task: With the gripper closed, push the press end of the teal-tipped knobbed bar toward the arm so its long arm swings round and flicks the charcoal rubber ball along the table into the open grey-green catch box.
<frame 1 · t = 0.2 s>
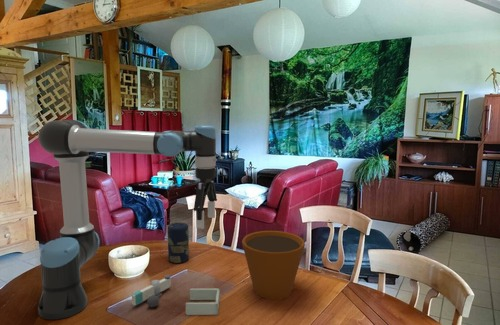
hand: (206, 222, 135), 27 cm above the table, fingers open, 13 cm apart
catch box: (203, 306, 126), on the table
pivot base: (155, 295, 133), on the table
ball: (153, 306, 125), on the table
canister: (178, 260, 165), on the table
teal-tipped knobbed bar: (152, 289, 131), point 3 cm above the table, hinge at 0.0°
flower pot: (272, 290, 138), on the table
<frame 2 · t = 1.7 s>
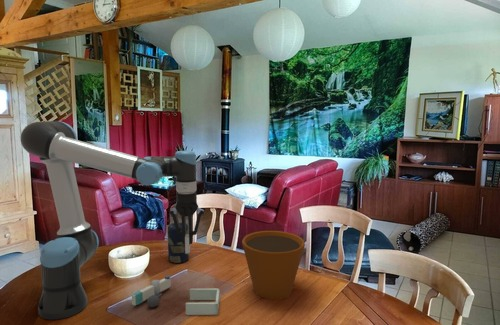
hand: (187, 251, 137), 15 cm above the table, fingers closed
nothing on the table moved.
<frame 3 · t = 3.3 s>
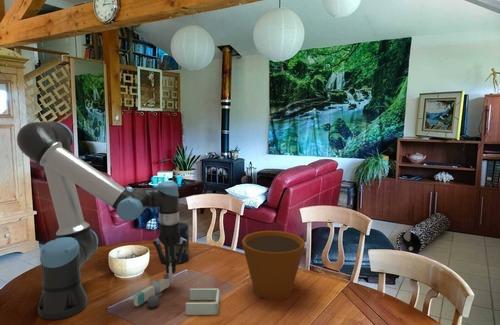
hand: (171, 280, 139), 3 cm above the table, fingers closed
teal-tipped knobbed bar: (152, 289, 131), point 3 cm above the table, hinge at 6.1°, touching gripper
everything else where it was.
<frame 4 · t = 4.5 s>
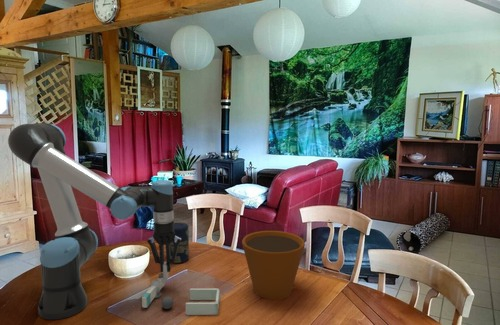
hand: (166, 279, 139), 3 cm above the table, fingers closed
ball: (164, 297, 124), point 4 cm above the table, tilted 154°
teal-tipped knobbed bar: (153, 289, 131), point 3 cm above the table, hinge at 26.3°, touching gripper
everything else where it was.
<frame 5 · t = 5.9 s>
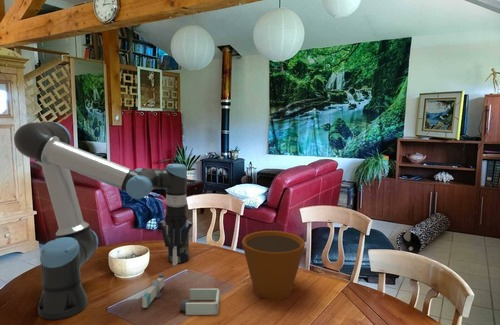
hand: (175, 263, 138), 10 cm above the table, fingers closed
ball: (187, 310, 123), on the table, tilted 17°
teal-tipped knobbed bar: (153, 289, 131), point 3 cm above the table, hinge at 26.4°
everything else where it was.
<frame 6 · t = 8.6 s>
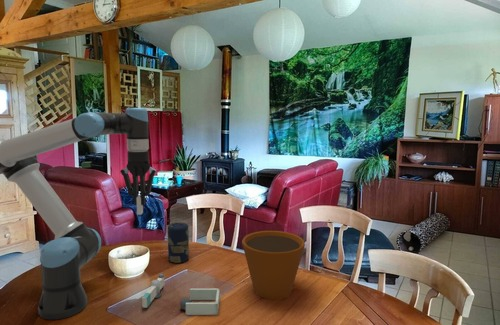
hand: (140, 213, 132), 30 cm above the table, fingers closed
ball: (187, 309, 123), on the table, tilted 37°
everything else where it was.
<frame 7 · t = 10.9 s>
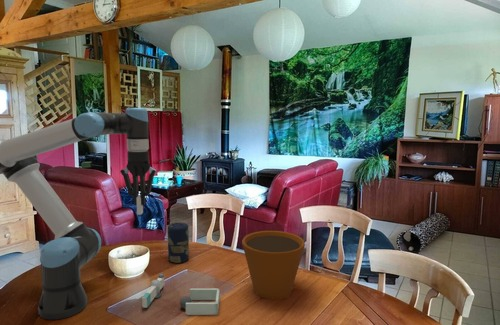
hand: (140, 213, 132), 30 cm above the table, fingers closed
ball: (187, 307, 123), point 1 cm above the table, tilted 59°
everything else where it was.
at the end: ball inside the target area on the catch box (5.5 cm from its centre), point 1.0 cm above the catch box's base; teal-tipped knobbed bar at +26° (first picture: +0°) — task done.
